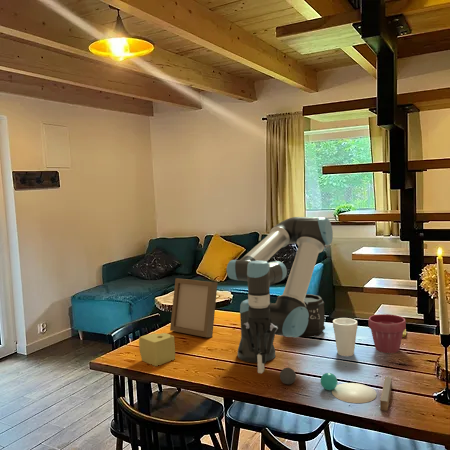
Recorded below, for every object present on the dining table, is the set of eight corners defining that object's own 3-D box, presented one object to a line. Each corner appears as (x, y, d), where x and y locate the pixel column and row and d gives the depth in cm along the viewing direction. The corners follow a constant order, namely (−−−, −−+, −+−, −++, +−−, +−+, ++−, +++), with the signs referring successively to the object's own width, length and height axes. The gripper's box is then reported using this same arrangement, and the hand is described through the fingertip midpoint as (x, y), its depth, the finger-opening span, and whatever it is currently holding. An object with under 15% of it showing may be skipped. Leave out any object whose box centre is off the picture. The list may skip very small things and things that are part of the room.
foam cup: (358, 358, 180) (358, 325, 178) (334, 357, 182) (333, 324, 180) (356, 349, 189) (356, 318, 188) (333, 348, 191) (332, 317, 190)
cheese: (160, 353, 194) (159, 330, 193) (177, 359, 186) (175, 335, 185) (139, 361, 187) (138, 336, 186) (155, 367, 179) (154, 342, 178)
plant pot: (370, 341, 197) (370, 312, 196) (406, 345, 191) (406, 314, 190) (367, 354, 184) (366, 322, 182) (405, 357, 178) (405, 325, 177)
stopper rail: (380, 410, 139) (380, 400, 139) (385, 385, 156) (385, 376, 155) (387, 411, 138) (387, 401, 138) (391, 385, 155) (391, 377, 155)
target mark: (328, 399, 147) (328, 398, 147) (335, 381, 160) (335, 380, 160) (374, 406, 142) (374, 405, 142) (378, 386, 155) (378, 386, 155)
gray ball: (278, 386, 158) (277, 370, 158) (282, 379, 163) (282, 364, 163) (293, 388, 156) (293, 372, 156) (298, 381, 161) (297, 366, 161)
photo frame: (206, 339, 208) (204, 284, 206) (170, 332, 221) (167, 280, 219) (225, 330, 220) (223, 278, 218) (189, 324, 233) (187, 274, 231)
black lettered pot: (296, 323, 227) (295, 291, 225) (330, 328, 216) (330, 295, 215) (277, 333, 212) (276, 300, 211) (314, 340, 202) (313, 304, 200)
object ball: (319, 391, 153) (318, 375, 152) (322, 384, 158) (322, 369, 157) (336, 394, 151) (335, 377, 150) (338, 387, 156) (338, 371, 155)
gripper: (237, 307, 160) (239, 373, 162) (273, 309, 155) (275, 378, 157) (245, 301, 167) (247, 365, 169) (280, 304, 162) (282, 370, 164)
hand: (261, 371), depth 163 cm, fingers closed
